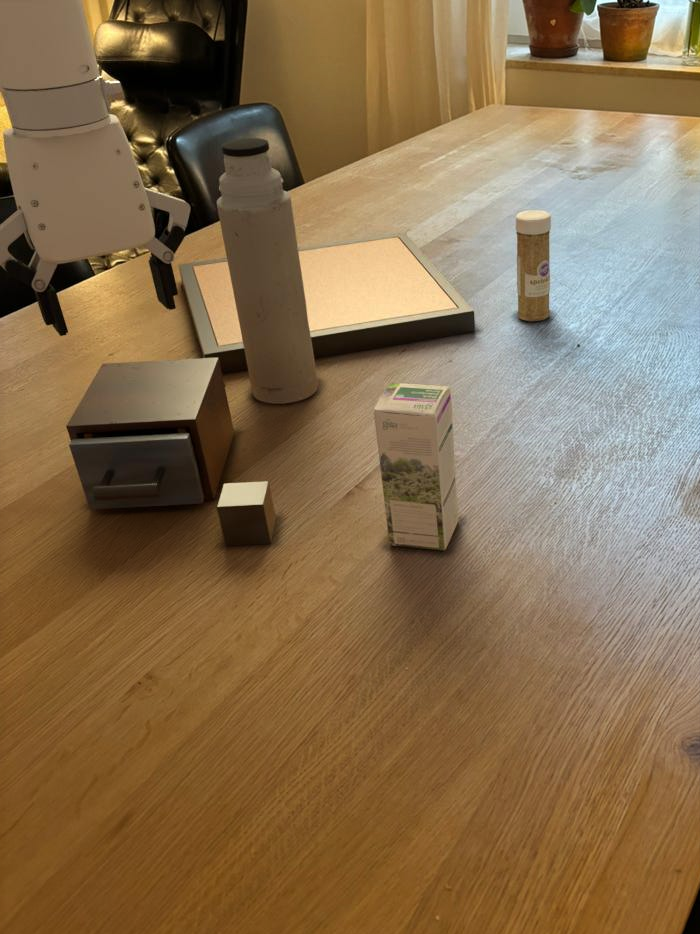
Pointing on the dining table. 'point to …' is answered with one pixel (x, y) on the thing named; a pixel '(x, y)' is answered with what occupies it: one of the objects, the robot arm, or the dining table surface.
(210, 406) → the cabinet
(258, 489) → the block
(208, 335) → the cork board
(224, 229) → the thermos bottle
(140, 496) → the drawer
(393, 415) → the syrup box
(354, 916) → the dining table surface
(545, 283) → the sprinkles bottle
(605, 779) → the dining table surface
